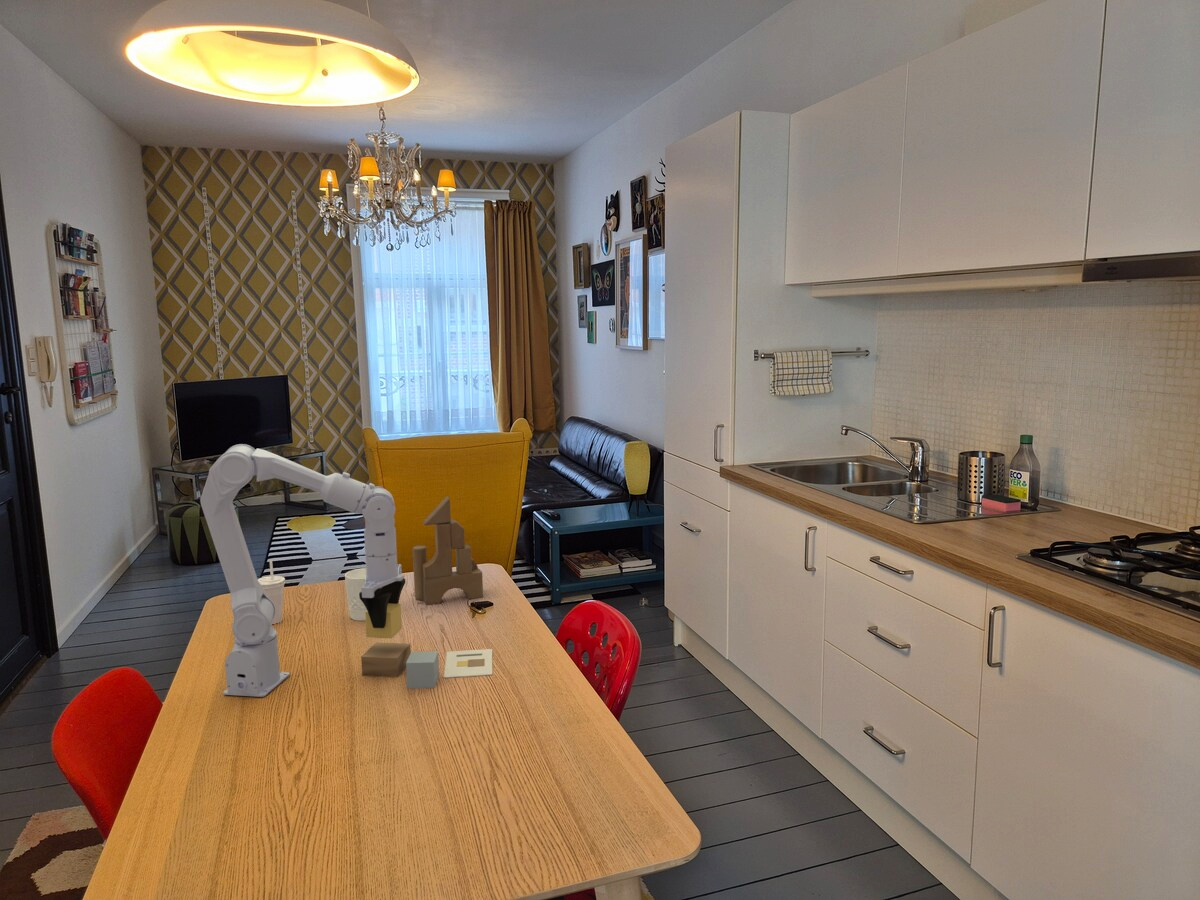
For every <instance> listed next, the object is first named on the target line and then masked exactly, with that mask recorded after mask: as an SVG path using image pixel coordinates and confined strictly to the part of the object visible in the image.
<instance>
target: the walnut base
mask: <svg viewBox="0 0 1200 900" xmlns="http://www.w3.org/2000/svg"><path fill="white" fill-rule="evenodd" d="M411 650H412V649H411V643H400V642H399V643H398V642H379V641H378V642H377V641H376V642H375V643H374V644H372V646H370V647H369V648H368V650H366V651H365V652H364V653H363V655H362V656H360V658H361V674H362V676H364V677H379V678H380V677H382V678H384V677H385V678H399V677H400V676H401V674H403V672H404V671H405V670H406V662H407V660H408V658H409V656H410V653H411V652H412V651H411ZM362 676H361V677H362Z"/></svg>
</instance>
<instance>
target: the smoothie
mask: <svg viewBox="0 0 1200 900" xmlns="http://www.w3.org/2000/svg"><path fill="white" fill-rule="evenodd" d="M269 570H270V571H269V572H270V575H269V576H264V577H260V578H257V579H258V582H259V583H260V584H261V585H262V587H263V589H264V592H265V594H266V596H267V597H268V598H269V599H271V600H272V602H273V603H274V605H275V610H276V611H275V616H274V618H273V620H272V622H271V624H274V625H277V624H276V623H278V624H280V623H282V622H281V621H283V604H284V592H285V590H284V589H285V584H286V578H285V577H284V576H282V575H274V567H273V560H269ZM279 622H280V623H279Z"/></svg>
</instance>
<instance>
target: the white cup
mask: <svg viewBox="0 0 1200 900" xmlns="http://www.w3.org/2000/svg"><path fill="white" fill-rule="evenodd" d="M366 576H367V575H366V567H364V568H363V567H362V568H355V569H352V570H349V571H346V572H345V574H344V579H345V580H344V583H345V590H346V598H347V599H346V600H347V605H348V610H349V611H348V612H349V617H350V619H352V620H353V621H360V622H361V621H366V617H365V612H366V611H367V609H366V607H365V605H364V603H363V602H362V601H361V599H360V597H359V593H360V592H361V591H362V587H363V586H364V582H365V577H366Z"/></svg>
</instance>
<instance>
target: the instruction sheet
mask: <svg viewBox="0 0 1200 900" xmlns="http://www.w3.org/2000/svg"><path fill="white" fill-rule="evenodd" d="M445 656H446V657H445V664H444V672H443V679H450V678H451V679H453V678H464V677H465V678H468V677H485V676H493V649H492V648H487V649H485V648H484V649H471V650H470V649H469V650H453V651H452V650H451V651H446V655H445Z"/></svg>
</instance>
